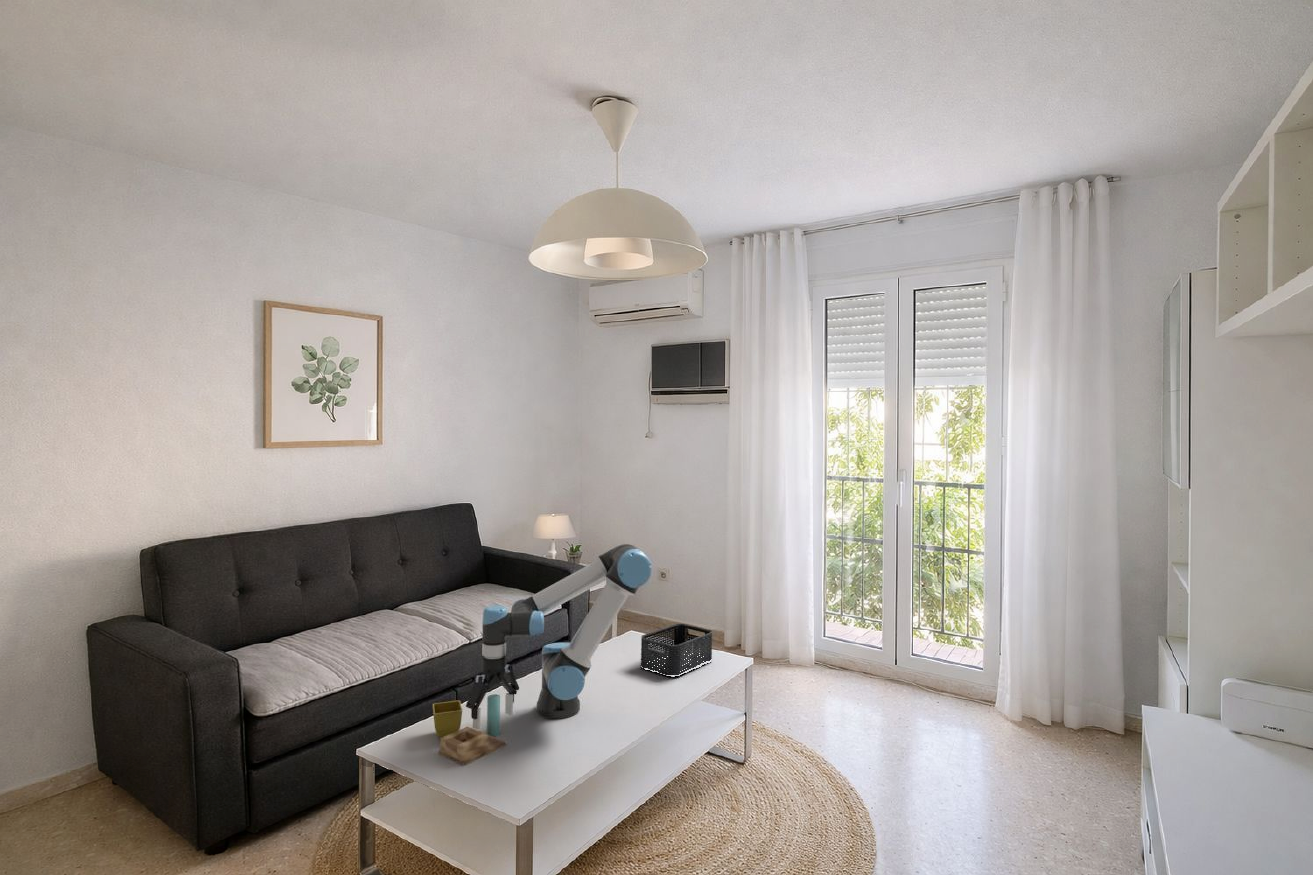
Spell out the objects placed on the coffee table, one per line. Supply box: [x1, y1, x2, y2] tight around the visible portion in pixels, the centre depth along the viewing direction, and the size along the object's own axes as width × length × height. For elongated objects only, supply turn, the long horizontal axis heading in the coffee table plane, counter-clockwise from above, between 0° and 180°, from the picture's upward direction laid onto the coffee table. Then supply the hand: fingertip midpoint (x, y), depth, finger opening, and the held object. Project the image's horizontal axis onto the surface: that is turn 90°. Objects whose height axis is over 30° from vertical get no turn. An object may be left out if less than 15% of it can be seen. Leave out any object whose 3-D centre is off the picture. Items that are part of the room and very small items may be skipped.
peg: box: [486, 693, 501, 737], centre depth 221 cm, size 4×4×12 cm
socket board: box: [437, 726, 507, 766], centre depth 210 cm, size 16×12×5 cm
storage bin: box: [640, 623, 713, 675], centre depth 287 cm, size 29×19×13 cm
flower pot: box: [432, 700, 463, 739], centre depth 220 cm, size 9×9×9 cm
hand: (493, 720), depth 221 cm, fingers open, 13 cm apart
